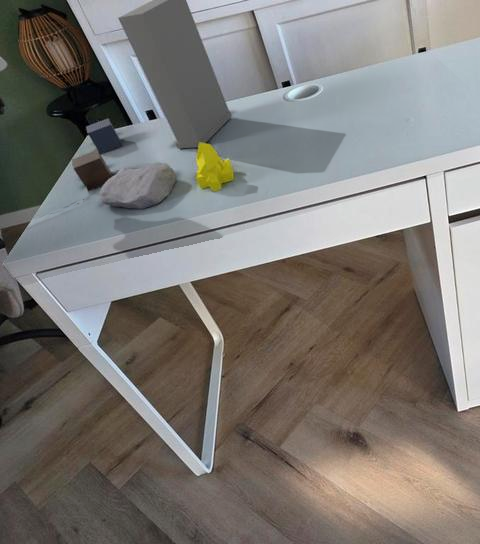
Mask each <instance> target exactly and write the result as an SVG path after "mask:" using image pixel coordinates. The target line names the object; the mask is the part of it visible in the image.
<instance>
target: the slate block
mask: <svg viewBox="0 0 480 544" xmlns="http://www.w3.org/2000/svg"><path fill="white" fill-rule="evenodd" d="M85 129H86V132H87V135H88V136H89V138H90V139H91V142H92V143H93V145H94V146H95V149H96V150H98V151H99V153H100V154H101V155H102V154H105V153H107V152H110V151H113V150H115V149H118V148H120V147H123V146H122V145H123V143H122V140H121V138H120V136H119V134H118V133H117V131H116V130H115V129H116V128H115V127H114V125H113V124H112V122H111V120H110V118H108V117H107V118H106V119H103V120H100V121H98V122H94V123H92V124H89V125H87V126H85Z"/></svg>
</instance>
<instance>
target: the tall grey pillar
mask: <svg viewBox="0 0 480 544" xmlns="http://www.w3.org/2000/svg"><path fill="white" fill-rule="evenodd" d="M118 21H119V23H120V25H121V27H122V29H123V31H124V33H125V36H126V37H127V40H128V41H129V44H130V45H131V48H132V50H133V52H134V55H135V56H136V58H137V61H138V62H139V64H140V66H141V69H142V71H143V73H144V75H145V77H146V79H147V82H148V84H149V85H150V87H151V91H152V92H153V94H154V97H155V98H156V100H157V102H158V104H159V106H160V108H161V110H162V113H163V114H164V117H165V119H166V121H167V123H168V126H169V127H170V129H171V131H172V133H173V135H174V138H175V140H176V142H175V146H176V148H177V149H180V150H183V149H191V148H198V146H199V142H201V143H206V144H207V142H208V141H209V140H210V139H212V137H213V136H214V135H215V134H216V133H217V132H218V131H219V130H220V129H221V128H222V127H223V126H224V125H225V124H226V123H227V122H228V121H230V120H231V118H232V117H233V115H232V113H231V111H230V110H229V107H228V104H227V101H226V100H225V97H224V94H223V92H222V89H221V86H220V84H219V81H218V78H217V76H216V74H215V71H214V68H213V66H212V63H211V60H210V58H209V56H208V53H207V51H206V47H205V45H204V41H203V40H202V38H201V35H200V31H199V30H198V27H197V25H196V21H195V19H194V16H193V14H192V12H191V9H190V6H189V4H188V1H187V0H150V1H148V2H146V3H144V4H142V5H141V6H138V7H136V8H135V9H133V10H130V11H129V12H127V13H125V14H122V15H121V16H119V17H118Z"/></svg>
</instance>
